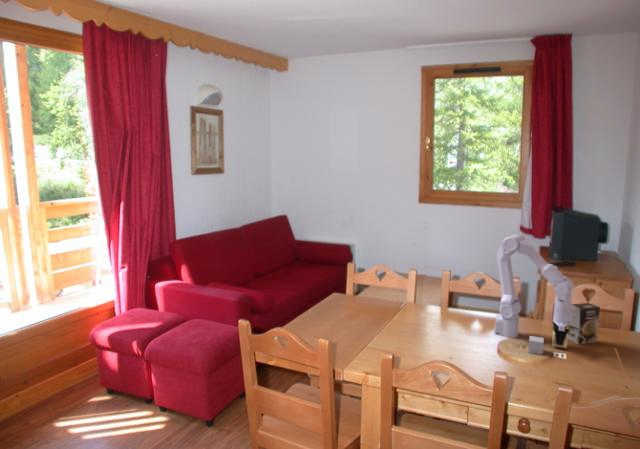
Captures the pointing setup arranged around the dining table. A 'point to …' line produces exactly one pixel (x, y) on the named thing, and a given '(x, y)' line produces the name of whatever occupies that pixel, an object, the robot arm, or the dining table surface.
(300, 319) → the dining table surface
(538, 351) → the grey block
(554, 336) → the maple block
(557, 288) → the robot arm
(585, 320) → the coffee box
